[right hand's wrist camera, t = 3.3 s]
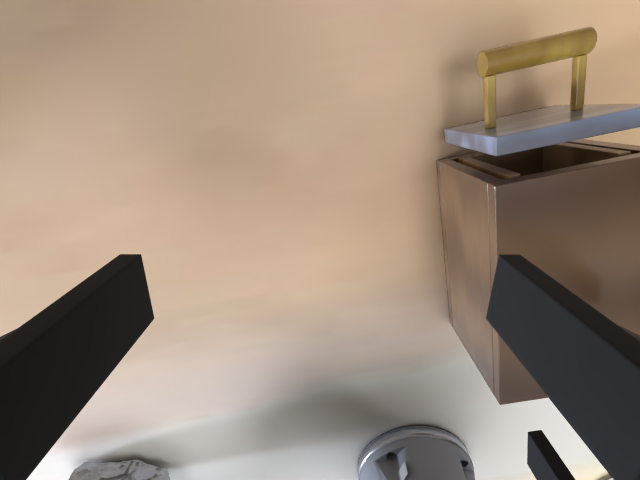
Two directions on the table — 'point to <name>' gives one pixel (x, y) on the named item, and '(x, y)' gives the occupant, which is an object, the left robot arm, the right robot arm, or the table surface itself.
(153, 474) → the fossil
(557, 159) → the drawer
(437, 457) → the left robot arm
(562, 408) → the right robot arm
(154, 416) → the table surface
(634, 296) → the cabinet
